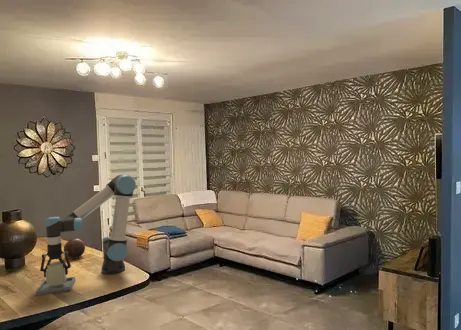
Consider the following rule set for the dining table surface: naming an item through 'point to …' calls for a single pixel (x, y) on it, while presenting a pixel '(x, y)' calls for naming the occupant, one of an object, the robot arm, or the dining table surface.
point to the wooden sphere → (74, 248)
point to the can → (55, 273)
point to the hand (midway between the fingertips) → (56, 281)
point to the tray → (55, 287)
